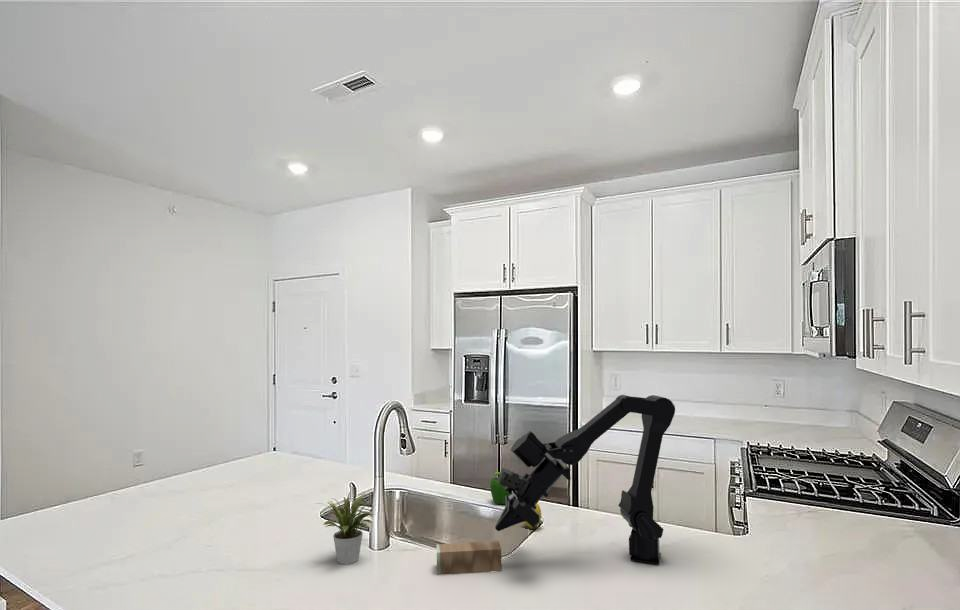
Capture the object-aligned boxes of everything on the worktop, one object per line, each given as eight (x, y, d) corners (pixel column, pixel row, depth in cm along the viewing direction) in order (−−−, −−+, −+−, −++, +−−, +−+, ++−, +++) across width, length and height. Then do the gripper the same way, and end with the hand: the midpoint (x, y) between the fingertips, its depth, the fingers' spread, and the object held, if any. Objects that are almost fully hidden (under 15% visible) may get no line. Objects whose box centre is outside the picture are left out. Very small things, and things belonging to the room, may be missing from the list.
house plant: (318, 579, 117) (319, 506, 118) (308, 557, 129) (309, 490, 130) (380, 566, 123) (379, 496, 124) (364, 546, 135) (364, 482, 137)
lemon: (540, 532, 143) (540, 503, 144) (521, 531, 144) (520, 502, 145) (542, 525, 148) (541, 497, 149) (523, 524, 150) (522, 496, 150)
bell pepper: (519, 500, 173) (518, 469, 173) (512, 507, 165) (511, 476, 166) (495, 498, 175) (494, 468, 176) (487, 505, 168) (487, 474, 168)
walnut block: (498, 540, 125) (436, 544, 123) (501, 549, 120) (436, 552, 119) (498, 562, 125) (436, 565, 123) (501, 571, 120) (436, 575, 118)
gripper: (511, 449, 134) (469, 494, 132) (523, 466, 115) (475, 519, 113) (541, 478, 134) (500, 524, 132) (559, 500, 115) (511, 554, 113)
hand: (496, 529), depth 123 cm, fingers closed
